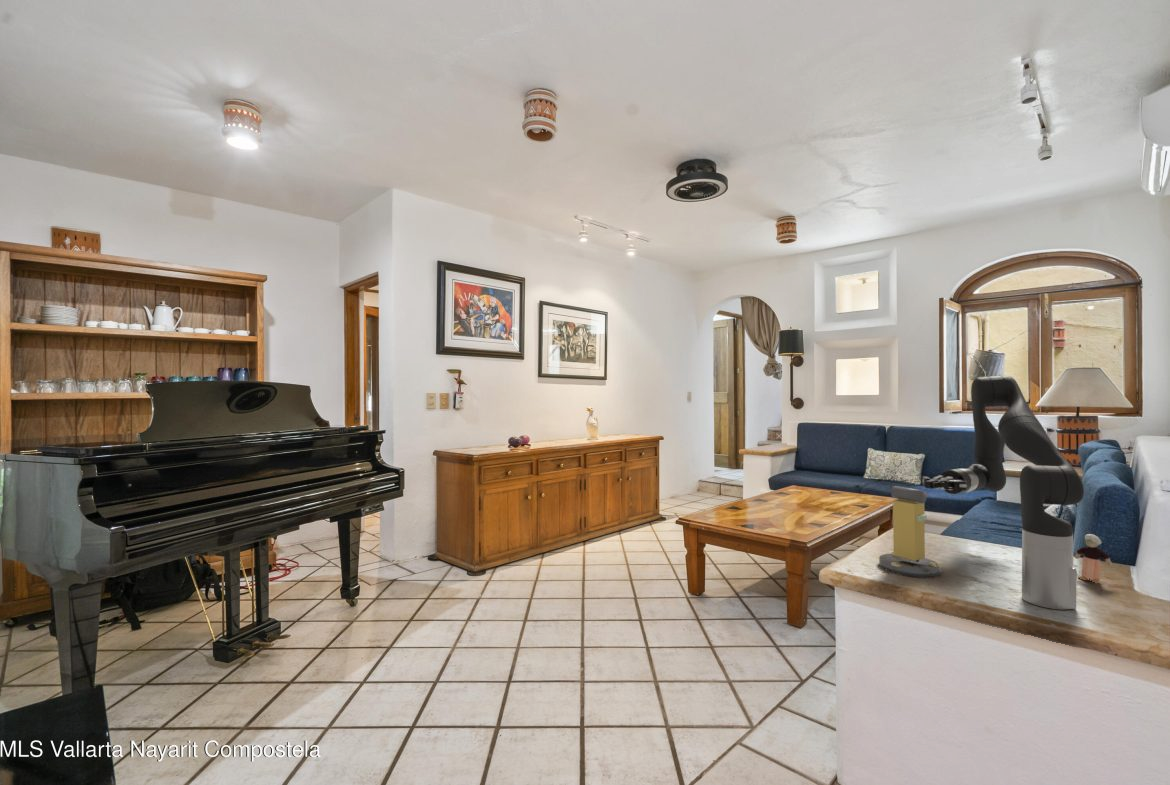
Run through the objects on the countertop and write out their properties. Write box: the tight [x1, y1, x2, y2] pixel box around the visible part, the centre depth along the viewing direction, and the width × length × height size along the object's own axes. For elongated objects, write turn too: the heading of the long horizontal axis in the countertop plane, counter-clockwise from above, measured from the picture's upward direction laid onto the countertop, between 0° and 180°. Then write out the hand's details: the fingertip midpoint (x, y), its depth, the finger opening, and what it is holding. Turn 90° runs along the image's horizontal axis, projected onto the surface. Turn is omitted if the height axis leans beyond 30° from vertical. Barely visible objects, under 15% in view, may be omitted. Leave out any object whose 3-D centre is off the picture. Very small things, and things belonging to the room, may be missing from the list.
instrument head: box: [890, 485, 928, 562], centre depth 153 cm, size 5×8×21 cm, turn 29°
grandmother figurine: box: [1073, 533, 1113, 584], centre depth 143 cm, size 8×4×13 cm, turn 37°
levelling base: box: [878, 551, 941, 579], centre depth 153 cm, size 15×15×2 cm
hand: (927, 484), depth 157 cm, fingers closed
